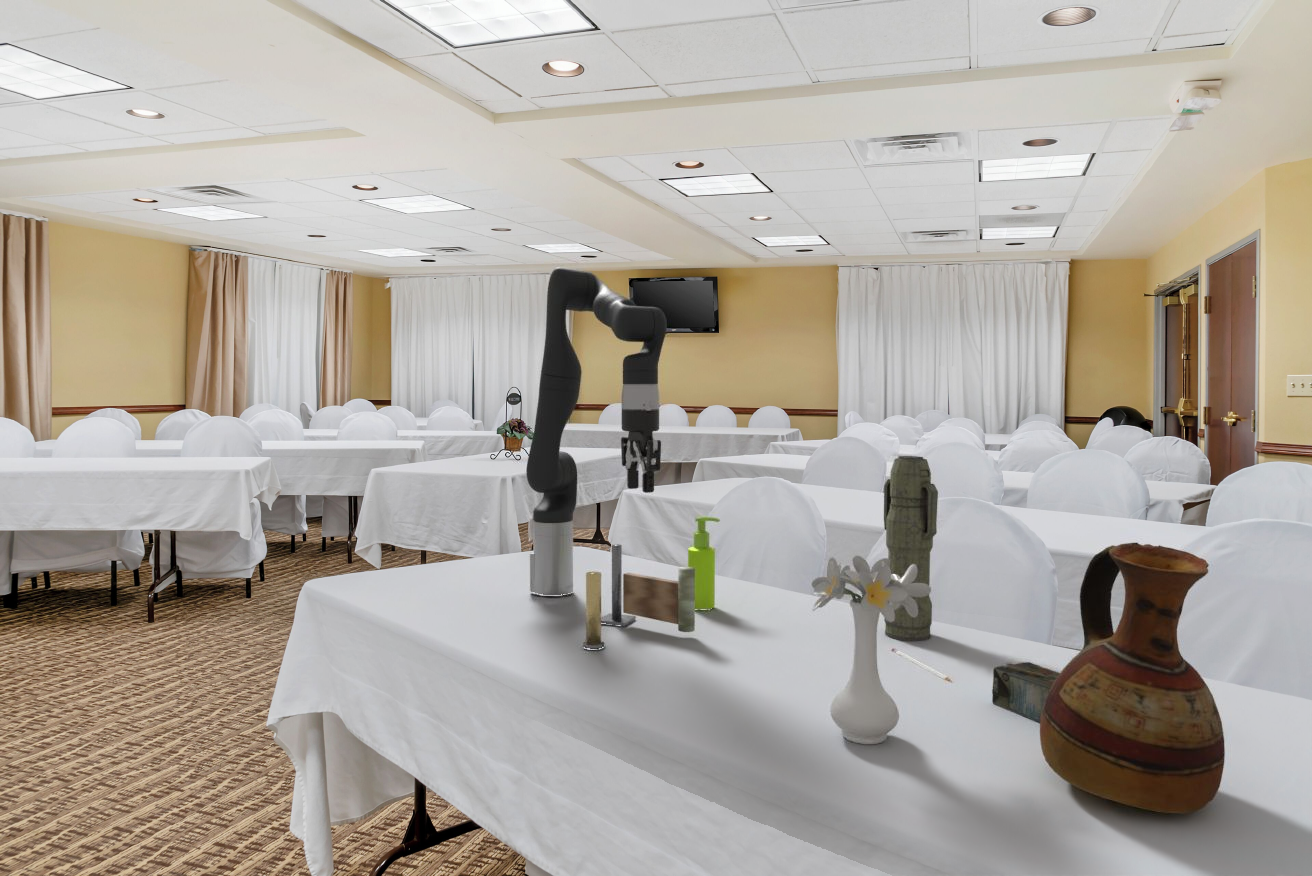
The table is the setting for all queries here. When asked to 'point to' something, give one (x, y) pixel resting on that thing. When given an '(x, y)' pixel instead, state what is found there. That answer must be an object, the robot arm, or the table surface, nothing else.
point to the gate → (662, 598)
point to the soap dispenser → (703, 565)
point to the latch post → (593, 611)
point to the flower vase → (867, 642)
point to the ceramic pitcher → (1136, 691)
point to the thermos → (910, 538)
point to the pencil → (921, 665)
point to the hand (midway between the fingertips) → (640, 490)
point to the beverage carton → (1022, 688)
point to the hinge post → (617, 591)
